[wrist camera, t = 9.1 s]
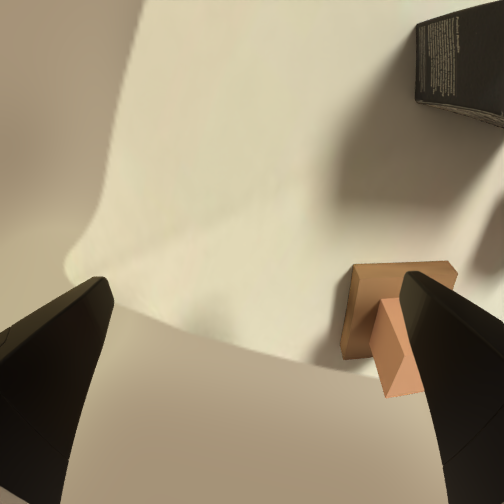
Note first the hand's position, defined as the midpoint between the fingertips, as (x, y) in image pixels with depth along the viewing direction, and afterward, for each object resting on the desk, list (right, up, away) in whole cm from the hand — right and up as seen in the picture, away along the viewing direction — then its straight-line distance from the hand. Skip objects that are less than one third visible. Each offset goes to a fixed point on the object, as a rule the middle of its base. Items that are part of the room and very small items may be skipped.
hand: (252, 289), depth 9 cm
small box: (+16, +14, +7) cm, 22 cm away
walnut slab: (+13, -4, +17) cm, 21 cm away
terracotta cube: (+13, -5, +15) cm, 20 cm away
